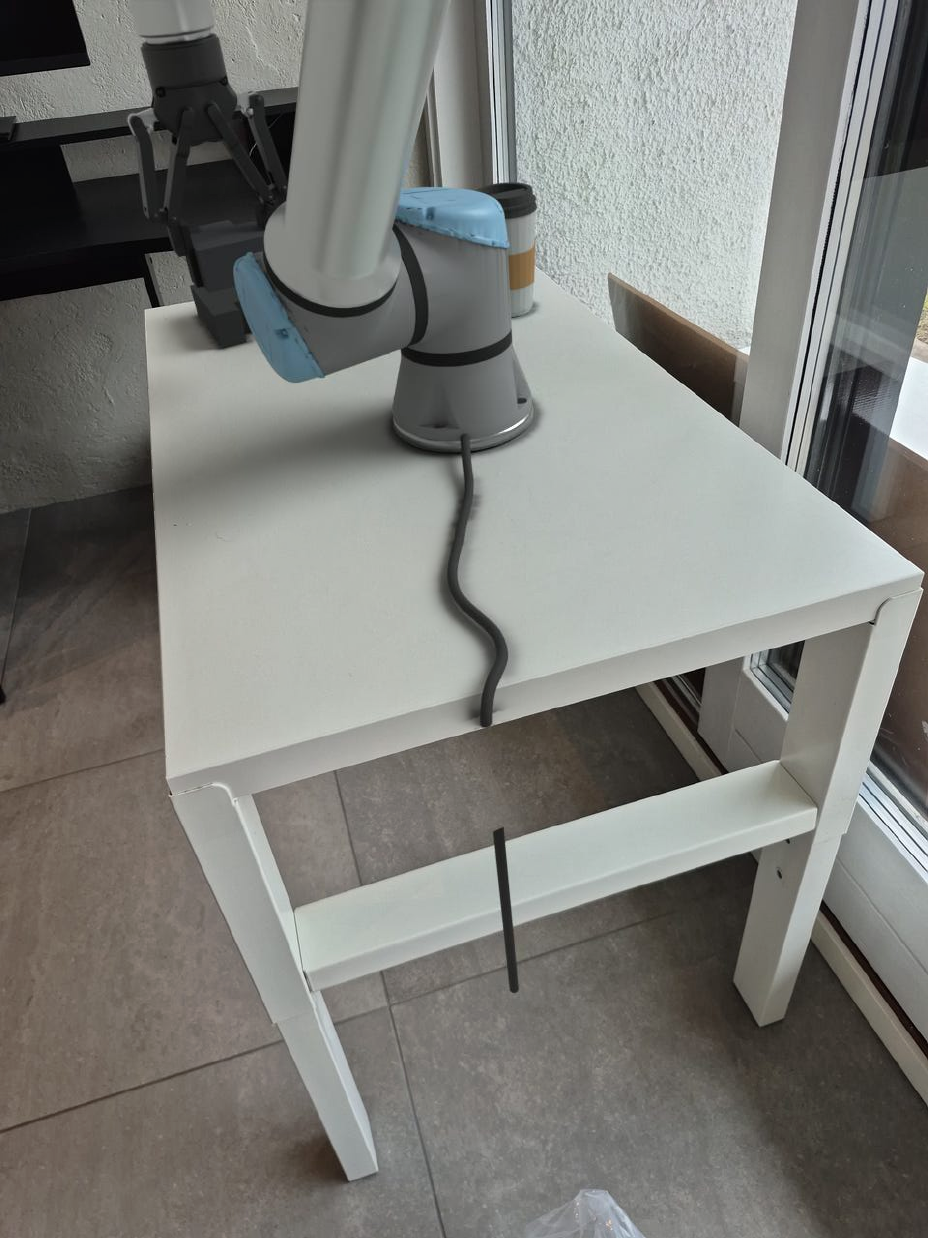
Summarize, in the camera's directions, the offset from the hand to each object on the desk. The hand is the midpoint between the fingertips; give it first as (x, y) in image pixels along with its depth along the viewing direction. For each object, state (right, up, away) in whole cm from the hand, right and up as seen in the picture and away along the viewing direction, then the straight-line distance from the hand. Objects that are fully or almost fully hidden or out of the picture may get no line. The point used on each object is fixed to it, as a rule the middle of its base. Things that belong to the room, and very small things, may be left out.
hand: (235, 274), depth 101 cm
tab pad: (-1, +1, +1) cm, 1 cm away
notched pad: (-4, +3, +26) cm, 26 cm away
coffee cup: (+32, +3, +21) cm, 38 cm away
